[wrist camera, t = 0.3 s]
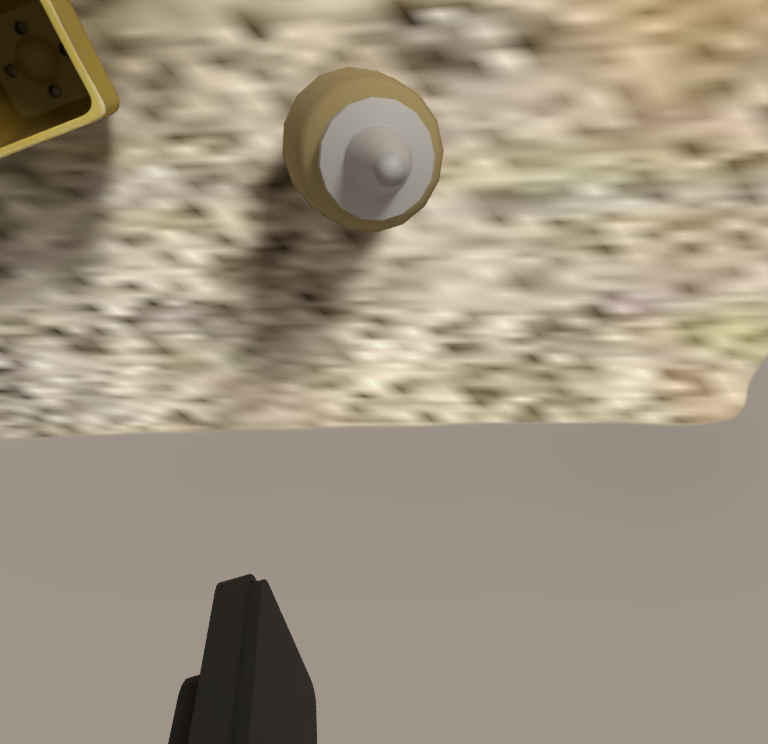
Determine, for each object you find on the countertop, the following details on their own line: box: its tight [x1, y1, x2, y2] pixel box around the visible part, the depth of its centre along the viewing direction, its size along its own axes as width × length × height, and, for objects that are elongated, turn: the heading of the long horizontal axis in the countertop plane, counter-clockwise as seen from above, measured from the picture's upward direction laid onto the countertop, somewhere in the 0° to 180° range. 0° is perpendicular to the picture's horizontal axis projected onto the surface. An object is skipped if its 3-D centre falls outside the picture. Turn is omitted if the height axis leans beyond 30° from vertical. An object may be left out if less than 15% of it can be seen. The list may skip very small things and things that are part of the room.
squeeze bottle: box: [283, 67, 443, 232], centre depth 28 cm, size 8×8×18 cm
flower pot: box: [0, 0, 120, 159], centre depth 28 cm, size 9×9×9 cm
